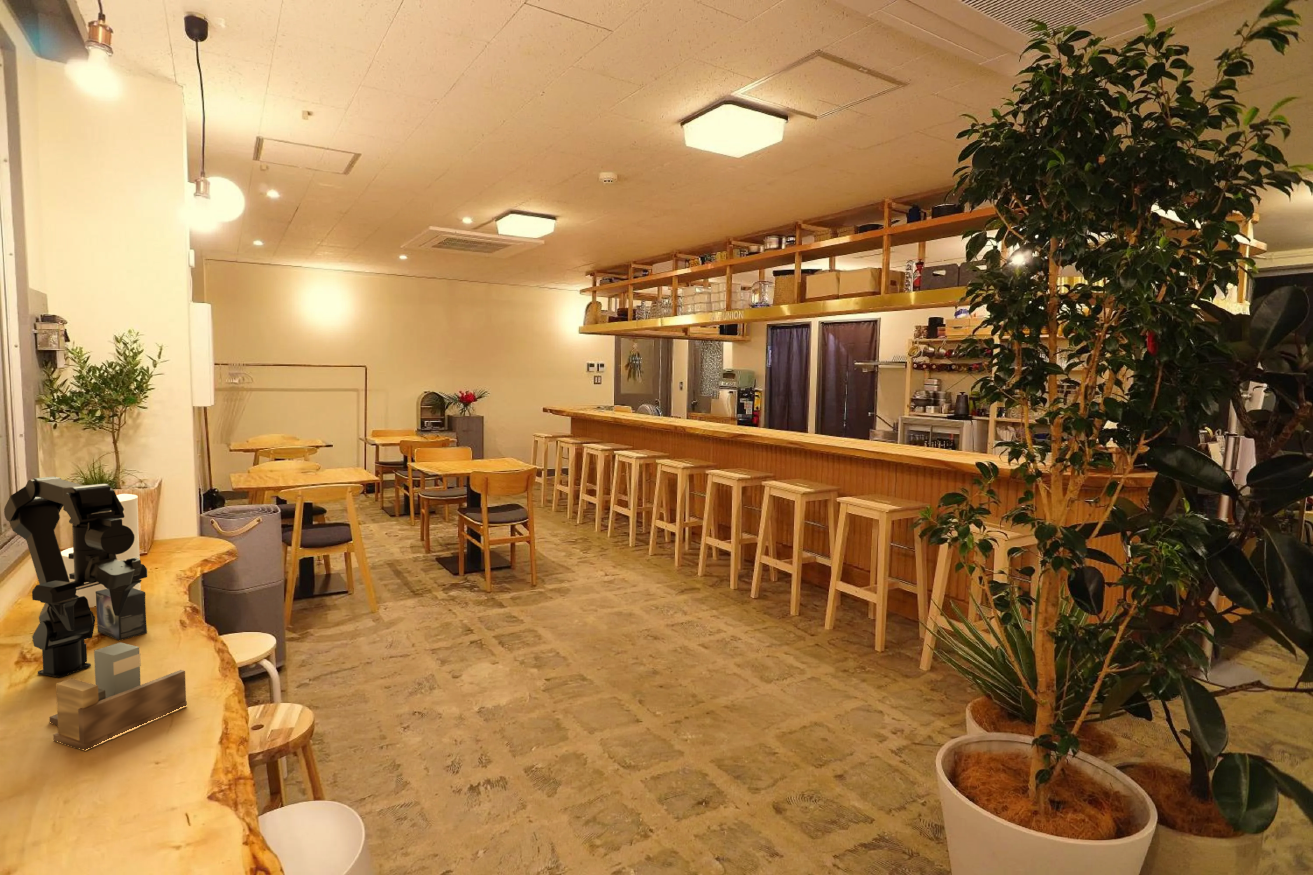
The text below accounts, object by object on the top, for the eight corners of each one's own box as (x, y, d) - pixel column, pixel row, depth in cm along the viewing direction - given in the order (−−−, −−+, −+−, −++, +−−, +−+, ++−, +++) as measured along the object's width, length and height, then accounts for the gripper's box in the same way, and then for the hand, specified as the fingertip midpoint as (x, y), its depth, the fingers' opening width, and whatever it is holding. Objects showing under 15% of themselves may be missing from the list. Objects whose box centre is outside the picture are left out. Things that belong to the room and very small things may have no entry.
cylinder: (155, 589, 204) (152, 494, 201) (108, 608, 186) (104, 505, 184) (97, 587, 204) (93, 492, 202) (44, 606, 187) (40, 503, 184)
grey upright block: (115, 713, 129) (113, 655, 128) (96, 707, 131) (93, 650, 130) (141, 702, 133) (140, 646, 132) (122, 697, 135) (120, 642, 134)
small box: (94, 632, 170) (93, 590, 169) (125, 624, 176) (123, 583, 175) (117, 641, 165) (116, 598, 164) (148, 632, 171) (147, 591, 170)
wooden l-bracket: (85, 751, 118) (82, 693, 117) (26, 731, 123) (24, 676, 123) (186, 707, 134) (185, 655, 133) (131, 691, 140) (129, 642, 139)
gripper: (72, 562, 129) (76, 644, 130) (166, 540, 147) (168, 612, 148) (28, 556, 132) (32, 637, 133) (125, 536, 150) (128, 606, 151)
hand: (94, 622), depth 141 cm, fingers open, 9 cm apart
